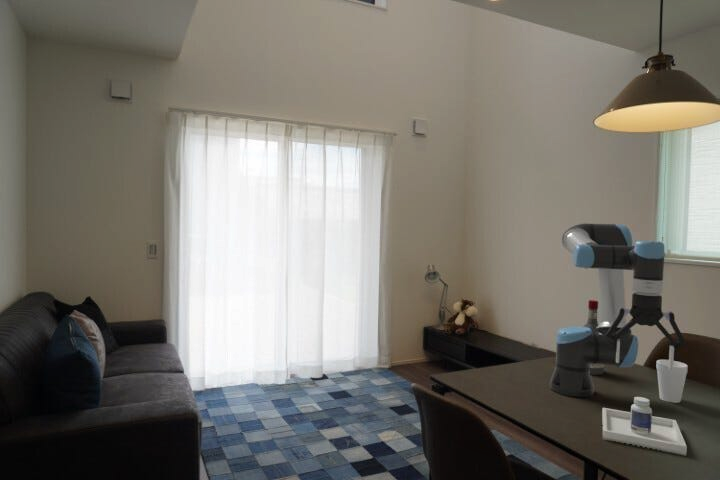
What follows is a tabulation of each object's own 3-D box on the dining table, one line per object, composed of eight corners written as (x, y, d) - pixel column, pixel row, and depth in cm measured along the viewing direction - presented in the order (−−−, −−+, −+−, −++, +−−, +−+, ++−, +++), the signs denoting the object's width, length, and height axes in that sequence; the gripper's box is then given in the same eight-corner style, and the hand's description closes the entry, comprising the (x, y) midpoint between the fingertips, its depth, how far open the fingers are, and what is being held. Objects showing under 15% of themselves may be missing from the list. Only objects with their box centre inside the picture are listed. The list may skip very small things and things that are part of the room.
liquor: (573, 368, 207) (576, 299, 206) (591, 367, 209) (594, 299, 208) (588, 375, 198) (591, 302, 197) (607, 374, 200) (610, 302, 199)
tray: (602, 439, 138) (603, 430, 138) (602, 415, 156) (602, 407, 156) (686, 455, 130) (686, 446, 129) (675, 428, 147) (675, 420, 147)
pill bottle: (653, 436, 140) (655, 403, 139) (633, 434, 141) (635, 401, 140) (646, 428, 145) (648, 396, 145) (627, 426, 146) (628, 395, 146)
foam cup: (686, 406, 166) (688, 369, 166) (654, 400, 171) (656, 364, 171) (685, 398, 174) (686, 362, 174) (654, 392, 179) (656, 358, 179)
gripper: (599, 291, 144) (596, 362, 144) (701, 299, 133) (696, 375, 133) (599, 288, 150) (596, 356, 151) (695, 295, 139) (692, 368, 140)
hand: (643, 365), depth 142 cm, fingers open, 13 cm apart
